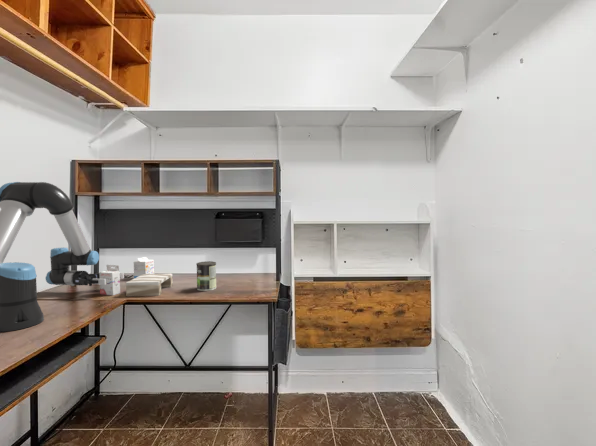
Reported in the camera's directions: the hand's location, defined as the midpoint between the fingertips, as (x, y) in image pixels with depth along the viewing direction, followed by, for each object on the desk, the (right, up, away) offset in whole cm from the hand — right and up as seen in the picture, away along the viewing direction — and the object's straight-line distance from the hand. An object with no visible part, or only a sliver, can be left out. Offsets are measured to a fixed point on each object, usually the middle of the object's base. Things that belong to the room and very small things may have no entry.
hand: (114, 278), depth 162 cm
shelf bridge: (+16, -8, +6) cm, 19 cm away
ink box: (-2, -7, +35) cm, 35 cm away
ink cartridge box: (-3, -8, +1) cm, 9 cm away
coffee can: (+45, -7, +9) cm, 46 cm away
